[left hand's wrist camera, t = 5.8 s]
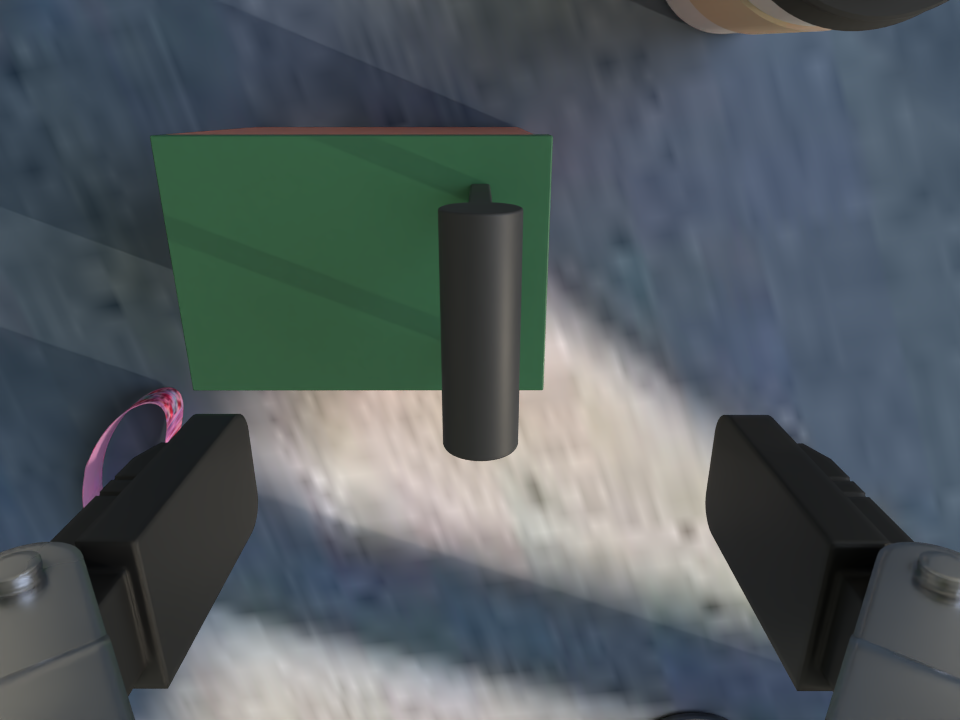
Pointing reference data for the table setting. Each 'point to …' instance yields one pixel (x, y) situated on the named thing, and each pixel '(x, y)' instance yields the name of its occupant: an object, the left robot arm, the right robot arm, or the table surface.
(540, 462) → the table surface
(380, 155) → the lid
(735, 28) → the coffee cup
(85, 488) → the headband
